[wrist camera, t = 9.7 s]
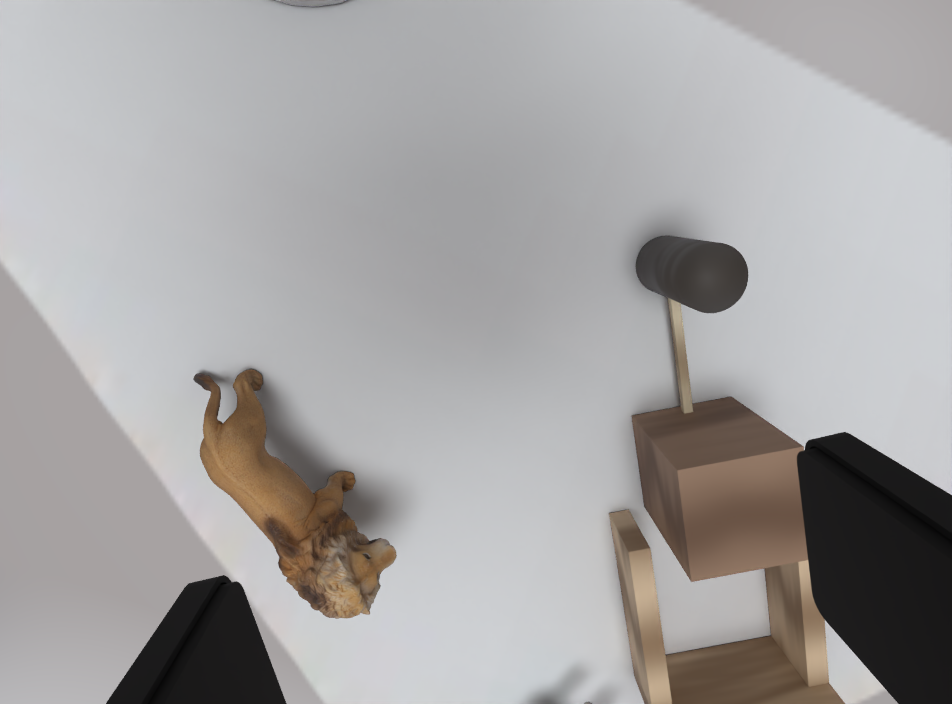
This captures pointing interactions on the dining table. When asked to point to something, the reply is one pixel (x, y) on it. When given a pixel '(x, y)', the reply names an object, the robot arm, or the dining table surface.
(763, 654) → the wooden stand
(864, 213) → the dining table surface
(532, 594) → the dining table surface
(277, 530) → the lion figurine
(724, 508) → the wooden lever toy
